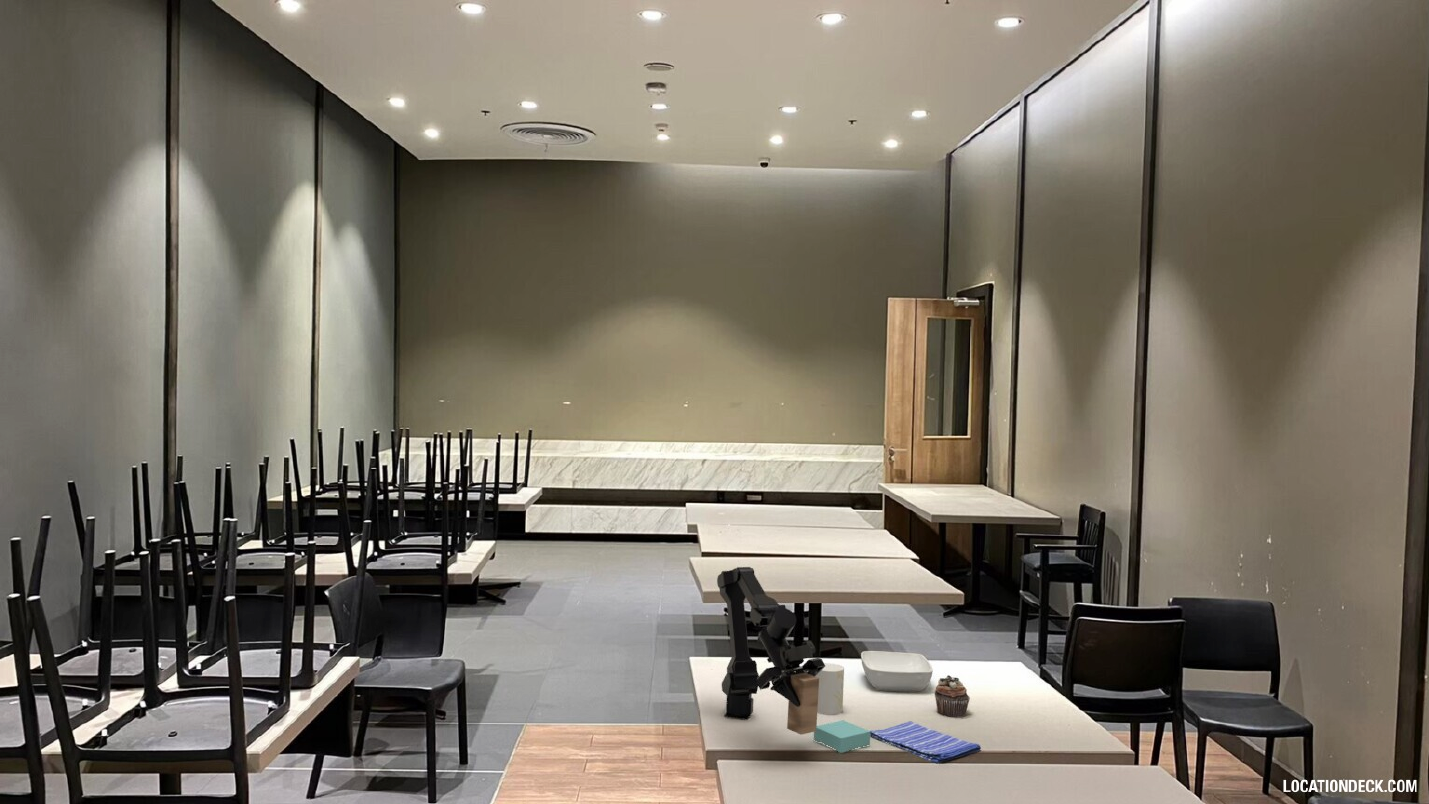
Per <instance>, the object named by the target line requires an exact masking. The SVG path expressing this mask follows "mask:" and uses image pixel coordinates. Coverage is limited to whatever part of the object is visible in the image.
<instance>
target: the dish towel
mask: <svg viewBox="0 0 1429 804" xmlns="http://www.w3.org/2000/svg"><path fill="white" fill-rule="evenodd" d="M869 731H870V736H872V738H873V739H875V738H876V739H875V740H877V739H878V741H880V742H882V743H885V742H887V743H889V744H891V745H890V746H892V745H893V746H892V747H895V746H896V747H895V748H898V749H900V750H902V751H904V752H907V753H910V754H913V755H915V756H917V757H920V758H922V759H924V760H927V761H929V762H932V763H935V764H942V763H945V762H947V761H951V760H954V759H957V758H960V757H964V756H966V755H970V754H973V753H976V752H979V751H980V750H981V749H982V748H981V747H982V746H981V745H980V744H978V743H973V742H969V741H966V740H964V739H959V738H957V737H954V736H951V735H949V734H946V733H943V732H939V731H937V730H935V729H932V728H928V727H925V726H922V725H920V724H919V723H917V722H913V721H910V720H909V721H908V722H904V723H900V724H897V725H894V726H890V727H888V728H884V729H877V730H869ZM887 743H886V744H887ZM889 744H888V745H889Z"/></svg>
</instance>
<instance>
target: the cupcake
mask: <svg viewBox="0 0 1429 804" xmlns="http://www.w3.org/2000/svg"><path fill="white" fill-rule="evenodd" d="M967 690H968V689H967V688H966V687H965V686H964V684H963V682H962V681H960V679H959V678H958V677H952V676H951V675H947V676H946V677H945V678H944V677H943V678H939V679H938V682H937V685H936V687H935V690H934V700H935V702H936V703H935V704H936V705H935V706H936V711H937V713H938V714H939V715H941V716H943V717H947V718H963V717H966V715H967V710H968V707H969V703H970V699H971V697H970V696H969V695H968V694H967Z"/></svg>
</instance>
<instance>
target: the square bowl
mask: <svg viewBox="0 0 1429 804" xmlns="http://www.w3.org/2000/svg"><path fill="white" fill-rule="evenodd" d="M860 659H861V660H860V661H861V666H862V668H863V671H864V674H865V677H866V679H867V681H868V682H869V683H870V684H871V685H872V686H873V687H874V688H875V690H878V691H887V692H888V691H891V692H911V693H913V692H915V693H919V692H920V691H922V690H923V689H925V688H926V687H928V685H929V684H930V682H931V679H932V677H933V670H934V669H933V666H932V665H931V663H930V662H929V661H930V660H928V659H927V657H925V656H924V655H923V654H921V653H914V652H901V651H900V652H898V651H897V652H896V651H895V652H894V651H882V650H881V651H880V650H864V651H862V652H861V653H860Z"/></svg>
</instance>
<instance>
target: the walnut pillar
mask: <svg viewBox="0 0 1429 804" xmlns="http://www.w3.org/2000/svg"><path fill="white" fill-rule="evenodd" d="M791 684H792V686H793V688H794V690H795V692H796V695H797V697H798V699H799V701H800V704H801V705H800V706H799V707H797V706H795V705H794V704H793V703H791V702H790V701H789V700H788V706H787V707H788V708H787V724H786V725H787V726H786V729H788V730H790V731H791V732H794V733H796V734H799V735H806V734H807V735H808V734H811V733H814V732H815V731H816V726H818V724H817V723H818V722H817V720H818V713H817V709H818V691H819V678H818V677H815V676H812V675H809V674H807V673H802V674H796V675H791Z"/></svg>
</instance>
